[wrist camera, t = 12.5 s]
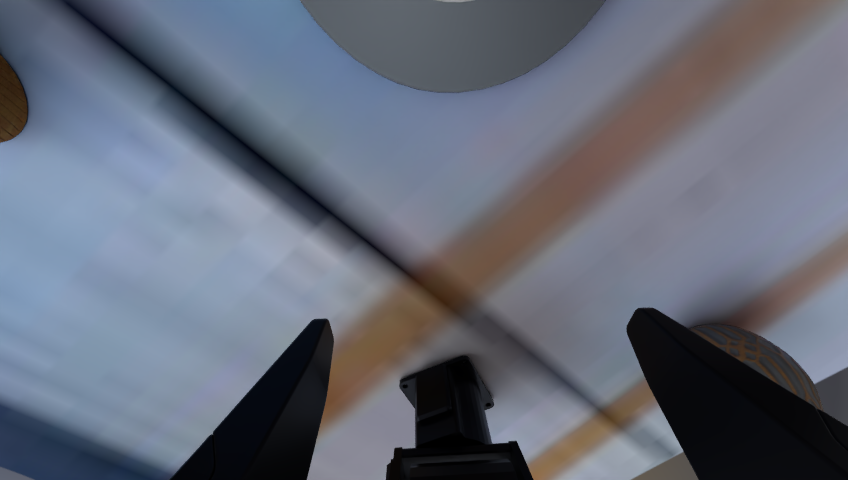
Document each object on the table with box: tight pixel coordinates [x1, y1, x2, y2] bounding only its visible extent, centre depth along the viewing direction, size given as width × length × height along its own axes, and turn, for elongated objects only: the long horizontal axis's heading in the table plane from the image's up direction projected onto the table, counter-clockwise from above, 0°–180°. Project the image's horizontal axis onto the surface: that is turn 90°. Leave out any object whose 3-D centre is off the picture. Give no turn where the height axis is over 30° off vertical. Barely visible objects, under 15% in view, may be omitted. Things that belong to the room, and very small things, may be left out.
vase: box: [689, 324, 824, 412], centre depth 23 cm, size 7×7×9 cm
